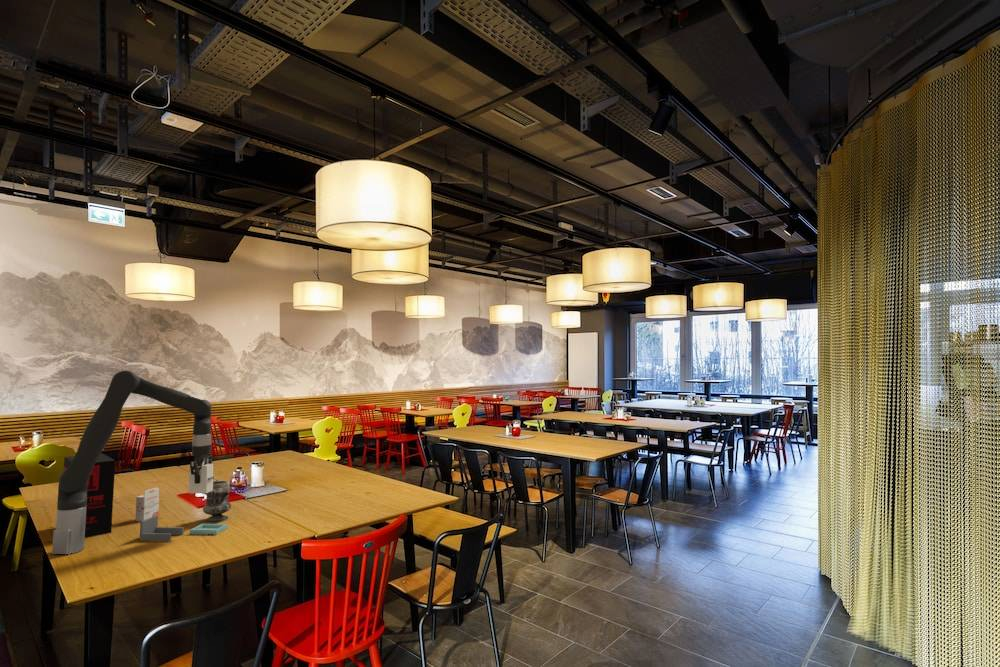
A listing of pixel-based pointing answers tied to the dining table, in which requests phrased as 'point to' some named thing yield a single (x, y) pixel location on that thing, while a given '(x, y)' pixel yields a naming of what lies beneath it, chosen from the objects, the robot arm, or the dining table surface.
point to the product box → (99, 495)
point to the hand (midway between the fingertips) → (201, 481)
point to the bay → (157, 530)
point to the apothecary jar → (217, 502)
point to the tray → (208, 529)
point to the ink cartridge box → (147, 504)
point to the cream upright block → (202, 480)
